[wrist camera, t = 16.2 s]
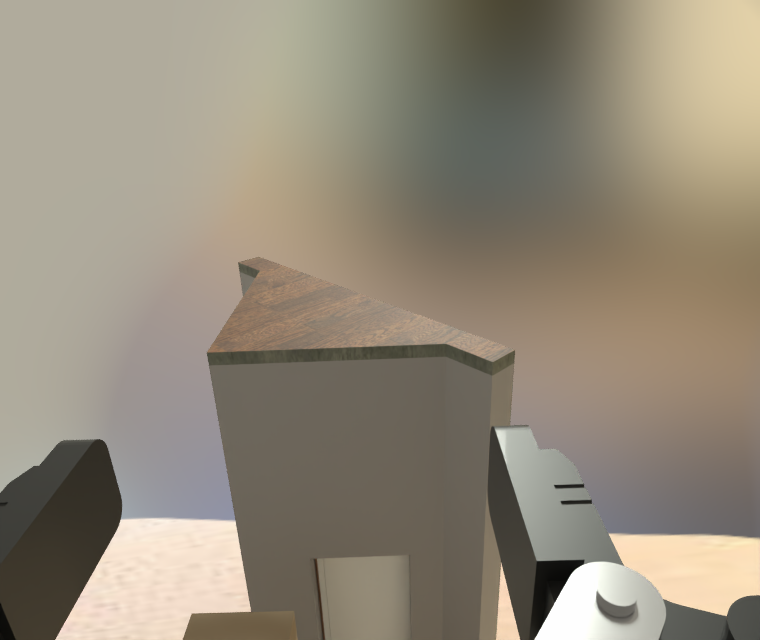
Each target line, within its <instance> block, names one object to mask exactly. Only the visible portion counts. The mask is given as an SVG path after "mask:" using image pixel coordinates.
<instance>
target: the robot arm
mask: <svg viewBox="0 0 760 640" xmlns="http://www.w3.org/2000/svg"><path fill="white" fill-rule="evenodd" d="M487 491H488V505H489V513H490V518H491V522H492V526H493V530H494V534H495V538H496V542H497V546H498V551H499V555H500V559H501V563H502V567H503V571H504V575H505V579H506V583H507V587H508V591H509V595H510V599H511V604H512V608H513V612H514V616H515V620H516V624H517V628H518V632H519V636H520V640H760V596H759V595H757V596H747V597H743V598H741V599H738V600H737V601H735V602H734V603H733V604H732V605H731V607H730V608H729V611H728V614H727V616H723V615H719V614H714V613H710V612H706V611H702V610H698V609H694V608H690V607H685V606H681V605H678V604H675V603H672V602H669V601H667V600H664V599H662V597H661V595H660V593H659V592H658V590H657V589H656V588H655V587H654V585H653V584H652V583H651V582H650V581H648V580H647V579H646V578H645V577H644V576H642V575H641V574H639V573H638V572H636V571H634V570H632V569H630V568H628V567H625V566H624V565H623V563H622V561H621V559H620V557H619V555H618V553H617V551H616V549H615V547H614V545H613V543H612V541H611V538H610V536H609V534H608V532H607V530H606V528H605V526H604V524H603V522H602V520H601V518H600V516H599V514H598V512H597V510H596V508H595V506H594V504H592V500H591V497H590V495H589V494H588V491H587V489H586V488H584V483H583V481H582V479H581V477H580V475H579V473H578V471H577V469H576V467H575V465H574V464H573V463H572V462H571V461H569V460H568V459H567V458H566V457H565V456H564V455H563V454H562V453H560V452H559V451H558V450H557V449H543V450H542V449H541V450H539V448H538V446H537V443H536V441H535V439H534V436H533V434H532V431H531V429H530V427H529V426H528V425H514V426H492V427H491V431H490V445H489V465H488V486H487ZM121 514H122V499H121V495H120V491H119V487H118V484H117V480H116V476H115V473H114V470H113V465H112V462H111V458H110V455H109V451H108V448H107V445H106V444H105V442H104V441H103V440H100V439H96V440H64V441H61V442H60V443H58V444H57V445H56V447H55V448H54V449H53V450H52V451H51V452H50V454H49V455H48V456H47V457H46V459H45V460H44V461H43V462H42V463H41V464H40V466H33V467H32V468H31V469H29V470H28V471H26V472H25V473H23V474H22V475H20V476H19V477H17V478H16V479H14V480H13V481H11V482H10V483H9V484H8V485H7V486H6V487H5V488H4V490H3V491H2V492H1V493H0V640H55V639H56V637H57V635H58V634H59V632H60V630H61V628H62V626H63V625H64V623H65V621H66V619H67V618H68V616H69V614H70V612H71V610H72V609H73V607H74V605H75V603H76V602H77V600H78V598H79V596H80V594H81V593H82V591H83V589H84V587H85V586H86V584H87V582H88V580H89V578H90V577H91V575H92V573H93V571H94V570H95V568H96V566H97V564H98V562H99V561H100V559H101V557H102V555H103V554H104V552H105V550H106V548H107V546H108V545H109V543H110V541H111V539H112V538H113V536H114V534H115V532H116V530H117V528H118V526H119V523H120V520H121Z"/></svg>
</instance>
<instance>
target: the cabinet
mask: <svg viewBox="0 0 760 640" xmlns="http://www.w3.org/2000/svg"><path fill="white" fill-rule="evenodd" d="M238 264H239V271H240V277H241V285H242V293H243V298H242V300H241V301H240V302H239V304H238V306H237V307H236V309H235V310H234V312H233V313H232V315H231V316H230V318H229V319H228V321H227V322H226V324H225V325H224V327H223V329H222V330H221V332H220V333H219V335H218V336H217V338H216V340H215V341H214V343H213V344H212V345H211V347H210V349H209V350H208V352H207V356H208V362H209V368H210V374H211V380H212V386H213V391H214V397H215V403H216V409H217V415H218V421H219V426H220V432H221V438H222V444H223V450H224V455H225V461H226V467H227V473H228V479H229V484H230V491H231V496H232V502H233V508H234V514H235V520H236V526H237V531H238V537H239V543H240V549H241V555H242V561H243V566H244V572H245V578H246V584H247V590H248V596H249V601H250V607H251V612H271V611H294V615H295V623H296V630H297V638H298V640H496V630H497V615H498V600H499V585H500V570H501V559H500V555H499V551H498V546H497V542H496V538H495V534H494V530H493V526H492V522H491V518H490V513H489V505H488V491H487V486H488V465H489V445H490V431H491V427H492V426H510V417H511V402H512V388H513V373H514V357H515V350H514V349H511V348H509V347H506V346H503V345H500V344H498V343H495V342H492V341H489V340H487V339H484V338H481V337H478V336H476V335H473V334H470V333H467V332H465V331H462V330H459V329H456V328H453V327H451V326H448V325H445V324H442V323H440V322H437V321H434V320H431V319H429V318H426V317H423V316H420V315H418V314H415V313H412V312H409V311H407V310H404V309H401V308H398V307H395V306H393V305H390V304H387V303H384V302H382V301H379V300H376V299H373V298H371V297H368V296H365V295H362V294H360V293H357V292H354V291H351V290H349V289H346V288H343V287H340V286H338V285H335V284H332V283H329V282H327V281H324V280H321V279H318V278H316V277H313V276H310V275H307V274H304V273H302V272H299V271H296V270H293V269H291V268H288V267H285V266H282V265H280V264H277V263H274V262H271V261H269V260H266V259H263V258H260V257H257V258H253V259H249V260H245V261H242V262H239V263H238Z"/></svg>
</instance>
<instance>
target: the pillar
mask: <svg viewBox="0 0 760 640" xmlns="http://www.w3.org/2000/svg"><path fill="white" fill-rule="evenodd" d="M183 640H298V638H297V630H296V623H295V615H294V611H271V612H235V613H199V614H192V615H191V617H190V620H189V623H188V626H187V629H186V632H185V635H184V638H183Z"/></svg>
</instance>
